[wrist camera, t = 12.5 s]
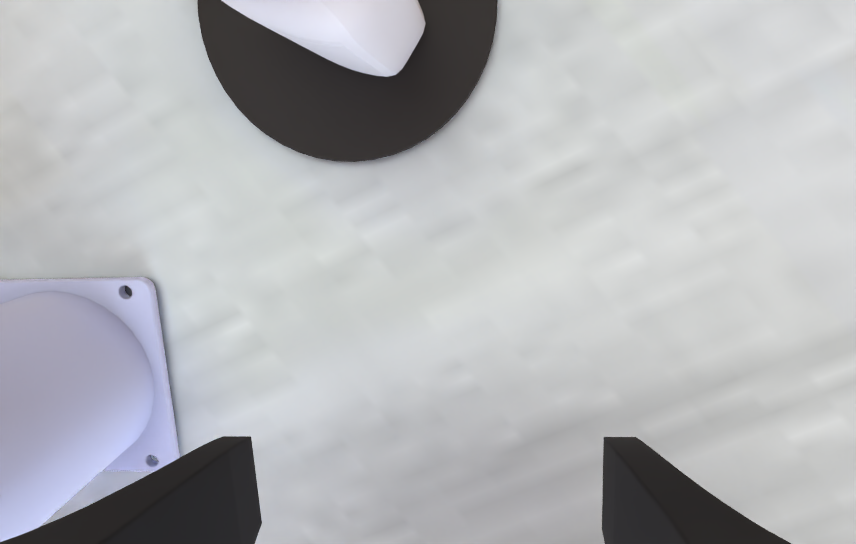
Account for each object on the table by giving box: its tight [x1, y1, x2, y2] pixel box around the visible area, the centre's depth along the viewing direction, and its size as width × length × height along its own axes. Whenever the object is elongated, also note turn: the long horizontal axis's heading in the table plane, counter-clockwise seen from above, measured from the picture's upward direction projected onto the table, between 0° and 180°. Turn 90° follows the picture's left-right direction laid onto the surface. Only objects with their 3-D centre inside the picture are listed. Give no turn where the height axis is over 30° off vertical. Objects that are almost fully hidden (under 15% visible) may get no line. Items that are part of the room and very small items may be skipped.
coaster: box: [198, 0, 497, 162], centre depth 20 cm, size 10×10×1 cm
